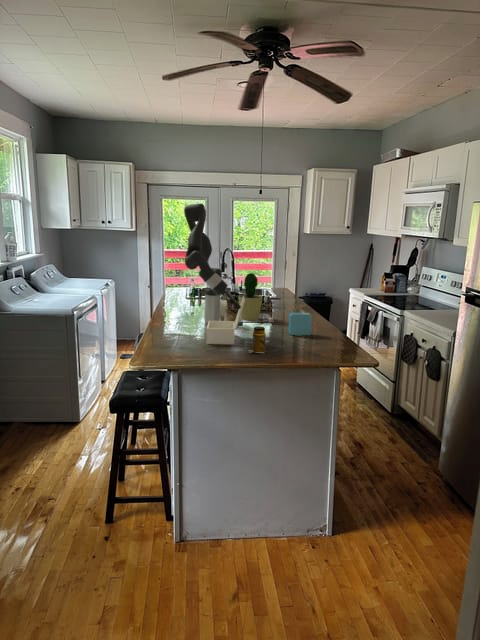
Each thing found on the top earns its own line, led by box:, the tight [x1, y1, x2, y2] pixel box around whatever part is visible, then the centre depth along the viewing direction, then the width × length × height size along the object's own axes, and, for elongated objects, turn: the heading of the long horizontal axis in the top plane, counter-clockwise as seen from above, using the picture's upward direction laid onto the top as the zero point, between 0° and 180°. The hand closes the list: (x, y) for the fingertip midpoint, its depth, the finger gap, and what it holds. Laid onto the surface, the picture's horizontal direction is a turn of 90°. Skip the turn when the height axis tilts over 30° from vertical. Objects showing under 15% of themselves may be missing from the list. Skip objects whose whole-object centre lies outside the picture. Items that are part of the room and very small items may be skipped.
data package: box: [288, 312, 313, 337], centre depth 248 cm, size 12×4×12 cm, turn 95°
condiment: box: [251, 326, 266, 352], centre depth 213 cm, size 7×8×12 cm
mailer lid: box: [234, 296, 245, 330], centre depth 232 cm, size 14×18×1 cm
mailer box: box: [206, 320, 236, 345], centre depth 234 cm, size 14×18×8 cm
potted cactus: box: [238, 272, 264, 322], centre depth 283 cm, size 15×15×30 cm
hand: (239, 308), depth 231 cm, fingers closed
